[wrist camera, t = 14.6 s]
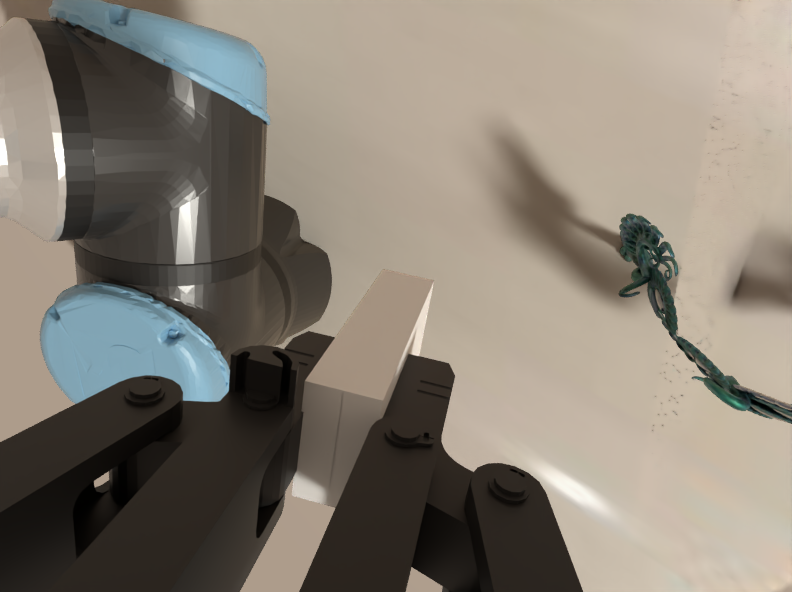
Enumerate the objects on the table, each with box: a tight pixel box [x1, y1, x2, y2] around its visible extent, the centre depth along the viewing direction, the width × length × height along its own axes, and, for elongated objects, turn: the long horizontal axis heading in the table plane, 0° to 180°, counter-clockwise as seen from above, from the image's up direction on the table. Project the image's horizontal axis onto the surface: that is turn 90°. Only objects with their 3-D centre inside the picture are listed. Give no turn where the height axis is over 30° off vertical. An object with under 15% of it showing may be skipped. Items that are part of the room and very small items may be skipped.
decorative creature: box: [619, 214, 792, 424], centre depth 37 cm, size 25×10×21 cm, turn 71°
